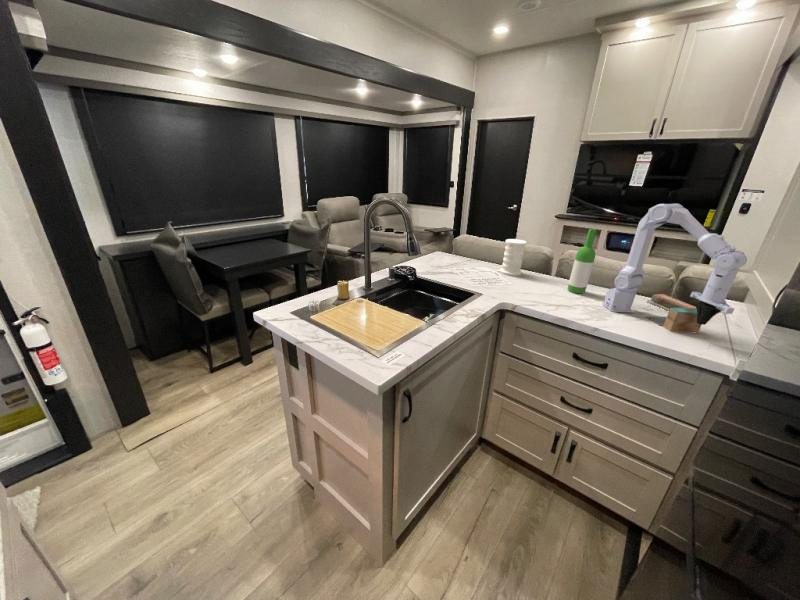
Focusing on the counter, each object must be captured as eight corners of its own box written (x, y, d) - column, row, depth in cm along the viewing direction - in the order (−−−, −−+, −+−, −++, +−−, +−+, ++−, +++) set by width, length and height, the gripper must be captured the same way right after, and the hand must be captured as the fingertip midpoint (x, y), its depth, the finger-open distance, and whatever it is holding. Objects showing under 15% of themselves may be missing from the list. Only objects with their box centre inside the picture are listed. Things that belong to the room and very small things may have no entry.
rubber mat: (659, 325, 119) (659, 325, 119) (645, 316, 127) (646, 316, 127) (692, 327, 119) (692, 327, 119) (676, 318, 126) (676, 317, 126)
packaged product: (648, 293, 139) (666, 292, 142) (645, 303, 141) (662, 302, 143) (691, 310, 123) (710, 308, 125) (686, 321, 125) (705, 319, 127)
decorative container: (519, 270, 180) (525, 239, 173) (522, 276, 169) (529, 244, 162) (498, 268, 182) (503, 238, 175) (500, 275, 171) (506, 242, 164)
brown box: (669, 331, 116) (677, 311, 113) (662, 326, 119) (670, 307, 116) (697, 332, 115) (706, 313, 112) (690, 328, 119) (698, 309, 115)
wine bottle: (588, 293, 149) (606, 230, 138) (577, 295, 147) (594, 231, 135) (574, 287, 156) (591, 227, 144) (563, 289, 153) (579, 227, 141)
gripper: (751, 296, 97) (731, 334, 102) (711, 280, 110) (696, 315, 115) (727, 294, 97) (709, 333, 102) (691, 279, 110) (676, 314, 116)
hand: (700, 323), depth 109 cm, fingers closed
